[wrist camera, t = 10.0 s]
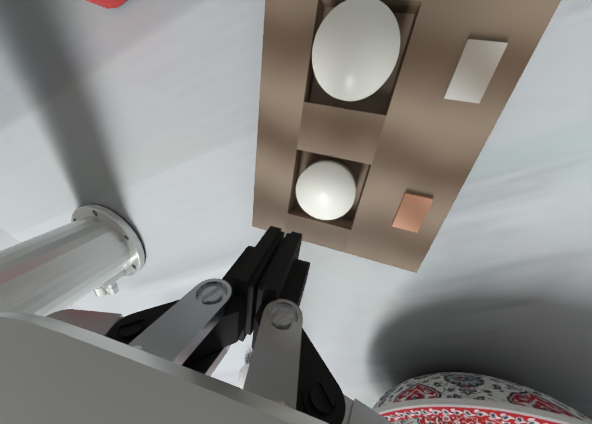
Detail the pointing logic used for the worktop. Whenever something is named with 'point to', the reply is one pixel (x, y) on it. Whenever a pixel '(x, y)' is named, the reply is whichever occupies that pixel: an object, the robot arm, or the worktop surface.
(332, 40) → the middle button
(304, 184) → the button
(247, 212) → the worktop surface
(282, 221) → the button board
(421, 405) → the ceramic bowl
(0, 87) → the worktop surface
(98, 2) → the beer can
